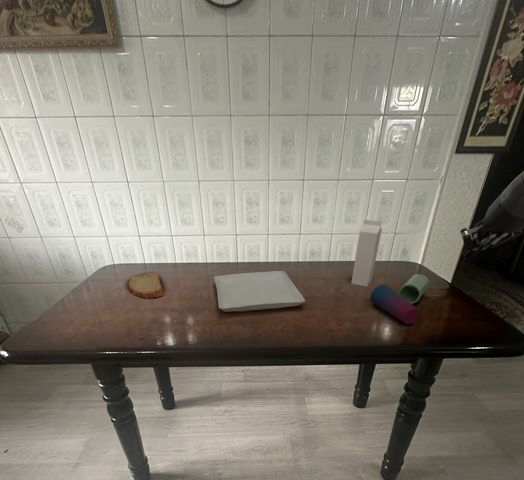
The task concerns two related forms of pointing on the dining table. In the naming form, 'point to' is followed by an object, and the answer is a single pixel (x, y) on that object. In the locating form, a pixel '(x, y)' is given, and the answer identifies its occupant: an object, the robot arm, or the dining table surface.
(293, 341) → the dining table surface
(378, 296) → the cup
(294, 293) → the square plate
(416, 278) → the green cup
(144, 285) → the bread slice
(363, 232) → the milk
